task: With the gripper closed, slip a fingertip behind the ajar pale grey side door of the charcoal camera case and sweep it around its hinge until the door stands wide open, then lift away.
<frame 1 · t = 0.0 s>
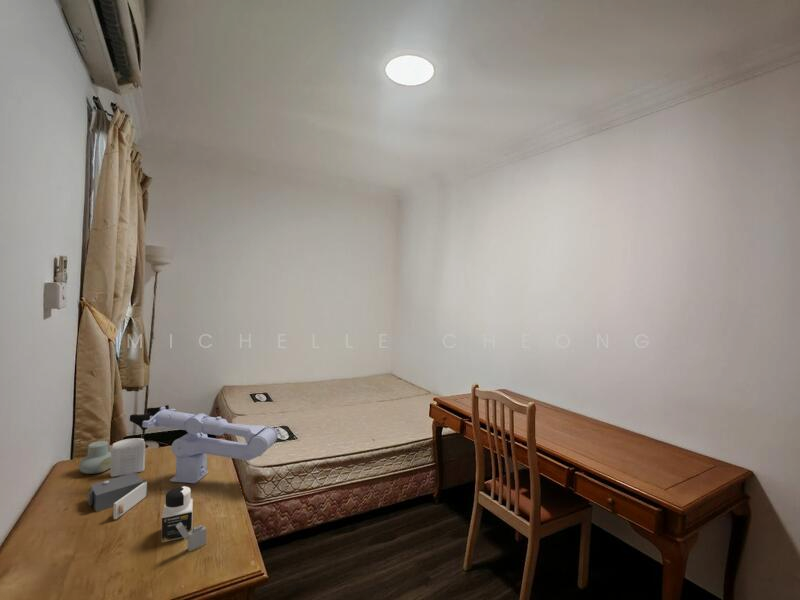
hand: (138, 414, 138), 22 cm above the table, tool horizontal, fingers open, 7 cm apart
side door: (133, 499, 117), point 3 cm above the table, hinge at 40.0°
medicine bottle: (177, 532, 106), on the table
photo printer: (128, 473, 138), on the table
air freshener: (97, 471, 139), on the table
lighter: (190, 549, 99), on the table
camera case: (116, 498, 122), on the table
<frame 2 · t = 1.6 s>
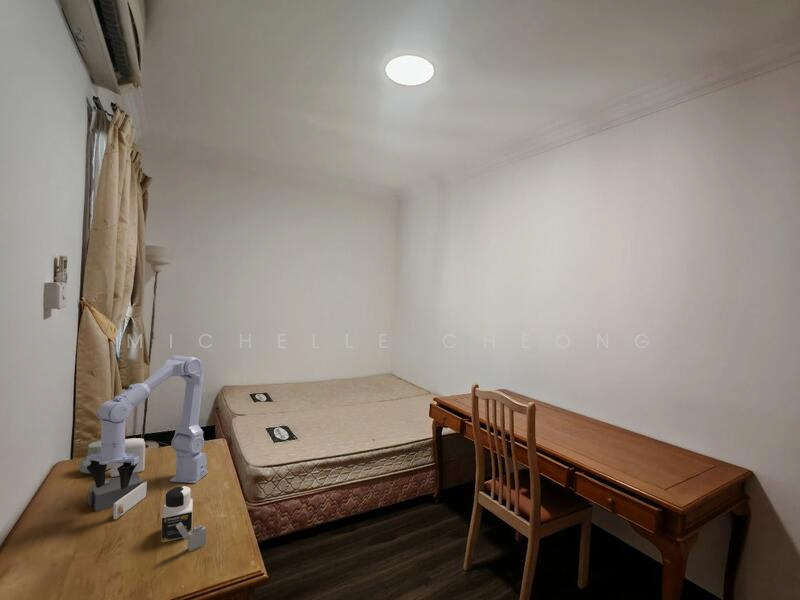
hand: (112, 486, 113), 8 cm above the table, tool pointing down, fingers open, 7 cm apart
nothing on the table moved.
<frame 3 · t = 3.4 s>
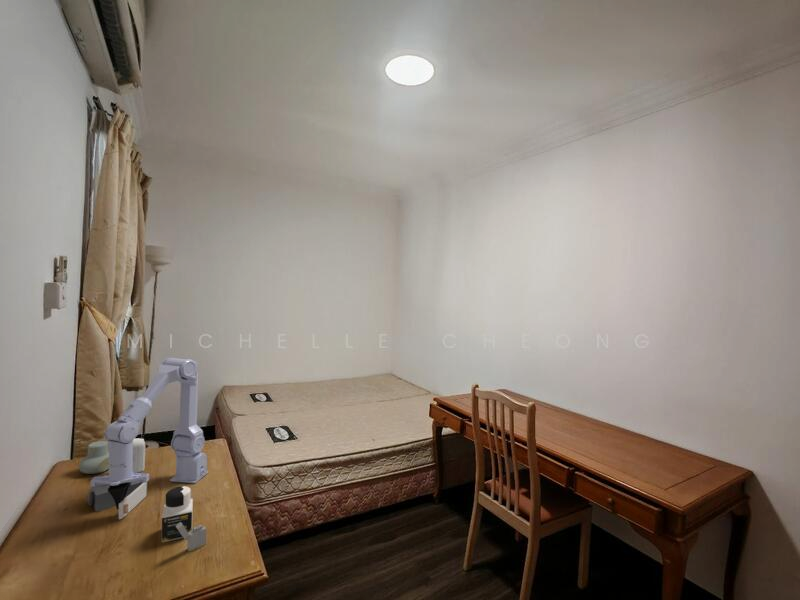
hand: (120, 507, 113), 2 cm above the table, tool pointing down, fingers closed
side door: (135, 499, 117), point 3 cm above the table, hinge at 46.9°, touching gripper
everything else where it was.
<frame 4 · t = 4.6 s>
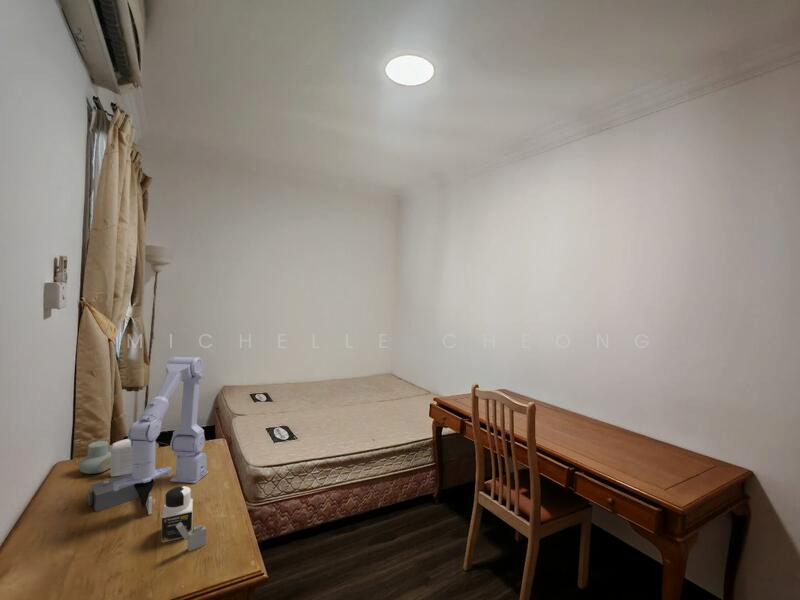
hand: (143, 505, 114), 2 cm above the table, tool pointing down, fingers closed
side door: (149, 496, 118), point 3 cm above the table, hinge at 81.9°, touching gripper
everything else where it was.
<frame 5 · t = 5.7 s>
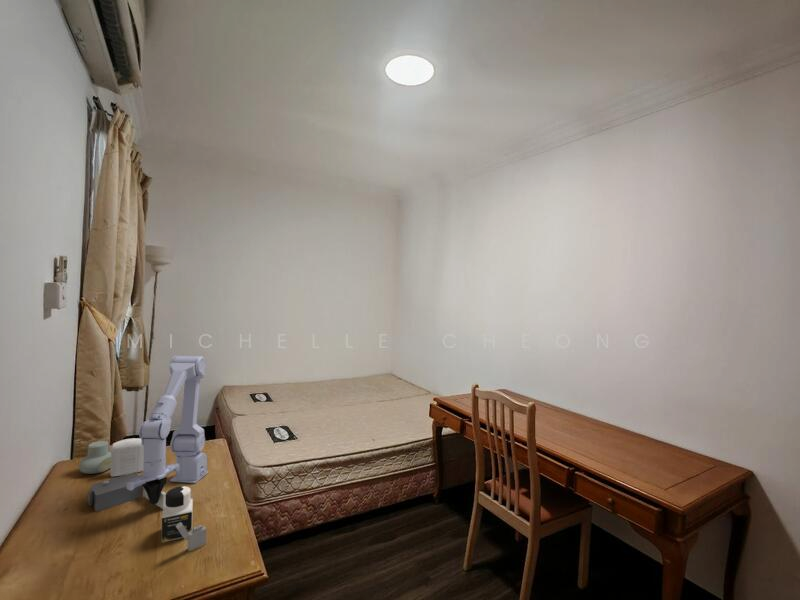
hand: (153, 502, 116), 2 cm above the table, tool pointing down, fingers closed
side door: (156, 494, 120), point 3 cm above the table, hinge at 99.5°
everything else where it was.
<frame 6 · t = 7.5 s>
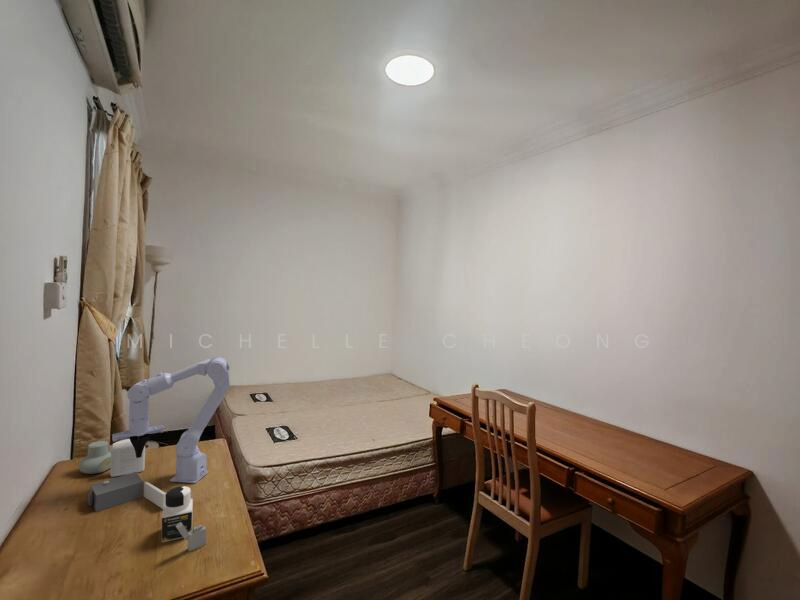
hand: (138, 456, 131), 9 cm above the table, tool pointing down, fingers closed
nothing on the table moved.
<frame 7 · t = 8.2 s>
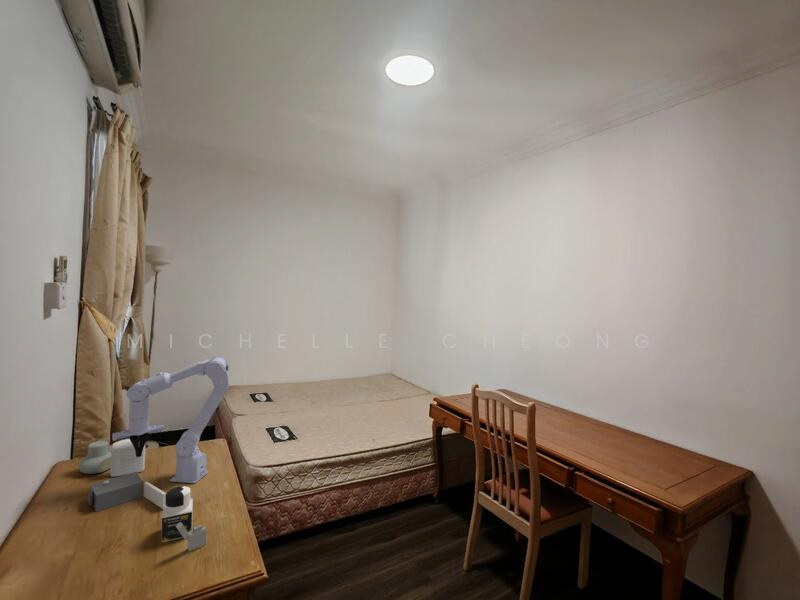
hand: (138, 455, 131), 9 cm above the table, tool pointing down, fingers closed
nothing on the table moved.
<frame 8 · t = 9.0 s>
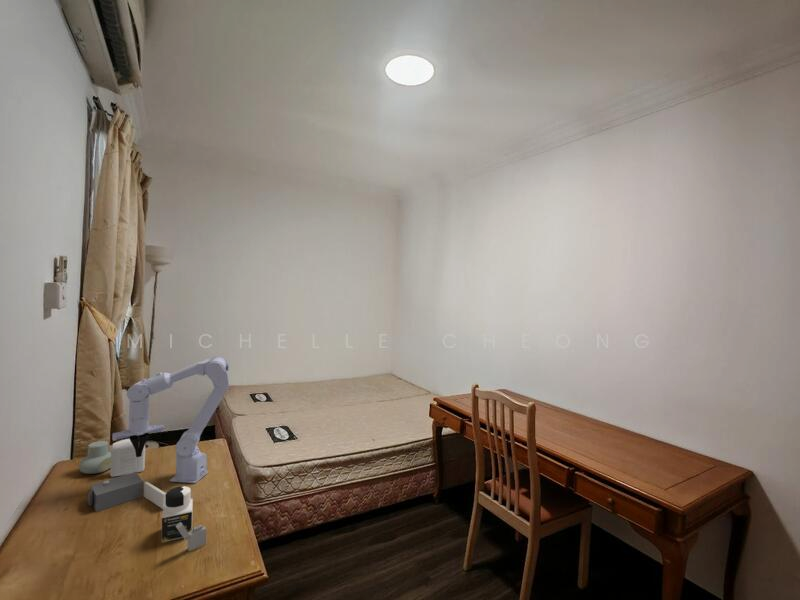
hand: (138, 455, 131), 9 cm above the table, tool pointing down, fingers closed
nothing on the table moved.
at the end: side door at +100° (first picture: +40°) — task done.
